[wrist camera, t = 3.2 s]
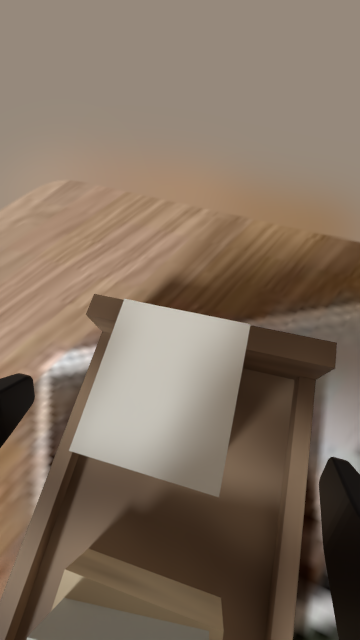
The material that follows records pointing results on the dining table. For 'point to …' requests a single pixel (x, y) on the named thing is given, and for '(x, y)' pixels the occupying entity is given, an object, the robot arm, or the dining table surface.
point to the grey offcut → (108, 625)
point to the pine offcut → (139, 593)
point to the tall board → (165, 395)
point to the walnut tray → (188, 500)
